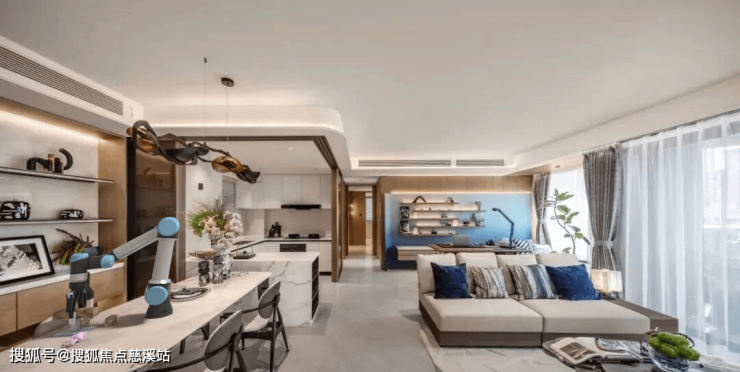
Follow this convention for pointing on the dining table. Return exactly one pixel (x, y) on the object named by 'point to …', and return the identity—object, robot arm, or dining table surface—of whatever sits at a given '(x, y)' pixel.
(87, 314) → the walnut beam
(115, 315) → the board
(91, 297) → the wine bottle
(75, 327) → the fulcrum
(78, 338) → the rabbit figure
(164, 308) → the robot arm
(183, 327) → the dining table surface
